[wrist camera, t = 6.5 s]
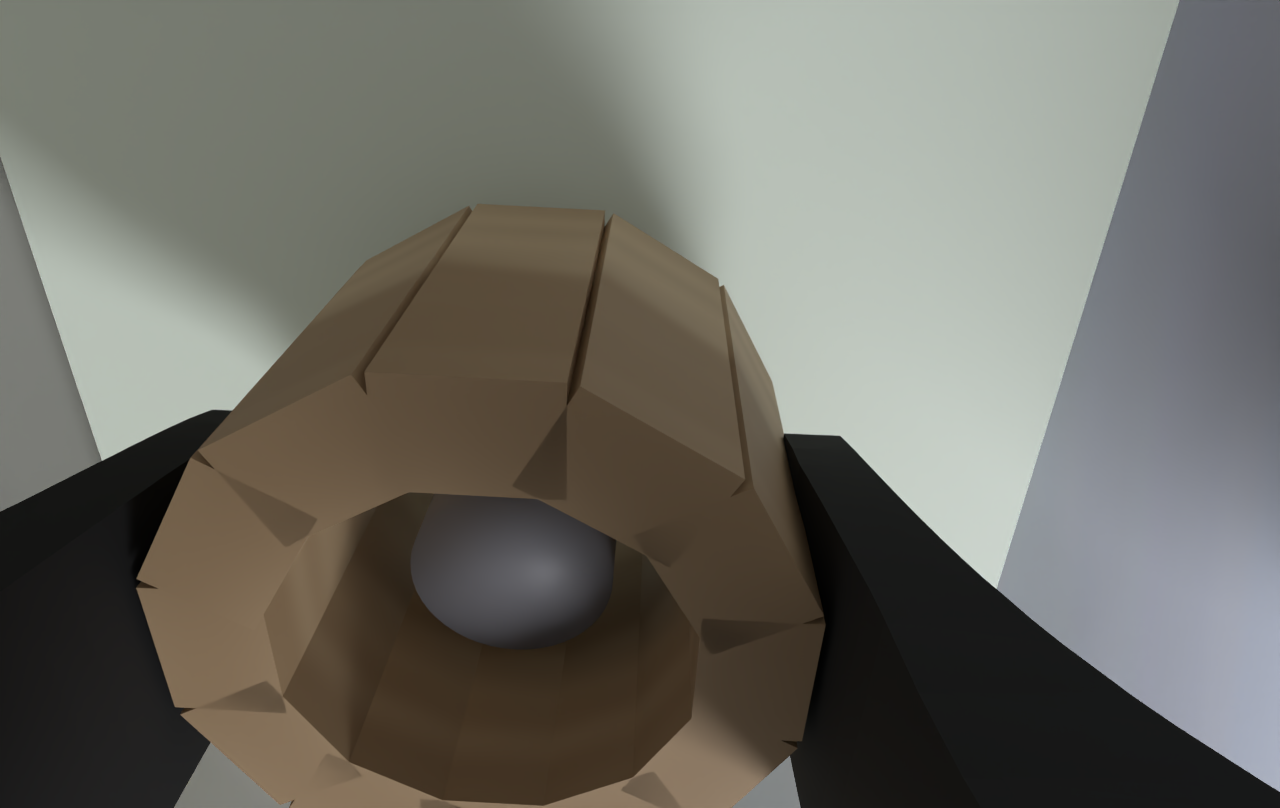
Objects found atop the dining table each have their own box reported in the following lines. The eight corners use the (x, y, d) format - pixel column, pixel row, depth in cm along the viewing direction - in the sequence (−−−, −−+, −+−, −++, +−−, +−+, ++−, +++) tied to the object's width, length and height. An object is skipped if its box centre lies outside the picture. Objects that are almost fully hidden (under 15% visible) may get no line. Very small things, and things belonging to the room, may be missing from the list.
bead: (796, 220, 9) (871, 398, 6) (743, 605, 12) (773, 880, 9) (286, 194, 9) (60, 356, 6) (350, 584, 12) (221, 850, 9)
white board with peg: (1202, -202, 9) (1674, -310, 5) (938, 700, 16) (1038, 987, 12) (-79, -247, 9) (-723, -390, 5) (203, 667, 16) (34, 939, 12)
